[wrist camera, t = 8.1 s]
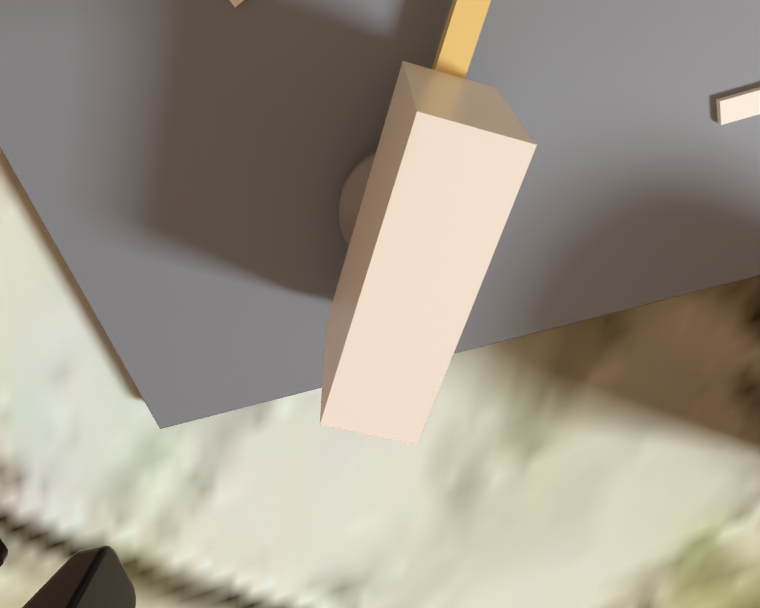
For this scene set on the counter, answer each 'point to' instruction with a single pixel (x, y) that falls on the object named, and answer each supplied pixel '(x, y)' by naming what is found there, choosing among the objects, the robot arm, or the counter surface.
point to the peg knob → (419, 237)
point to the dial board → (347, 146)
